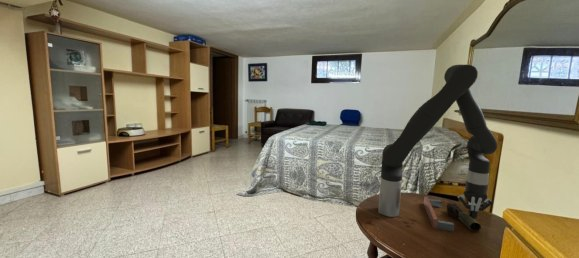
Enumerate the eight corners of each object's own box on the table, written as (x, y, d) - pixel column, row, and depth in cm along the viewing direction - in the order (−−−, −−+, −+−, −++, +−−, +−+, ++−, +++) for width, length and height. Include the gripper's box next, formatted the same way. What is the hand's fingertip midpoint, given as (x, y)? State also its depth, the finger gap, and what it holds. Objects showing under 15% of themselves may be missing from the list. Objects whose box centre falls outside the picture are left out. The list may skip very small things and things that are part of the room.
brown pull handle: (432, 227, 101) (433, 219, 101) (423, 203, 123) (424, 196, 123) (453, 231, 99) (454, 222, 98) (440, 206, 121) (441, 198, 120)
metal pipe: (481, 232, 99) (482, 219, 98) (464, 231, 99) (465, 219, 98) (454, 211, 116) (455, 200, 115) (440, 210, 117) (441, 200, 116)
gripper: (461, 182, 102) (457, 219, 105) (499, 186, 97) (494, 225, 100) (456, 176, 109) (452, 211, 112) (492, 180, 104) (487, 216, 107)
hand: (472, 217), depth 106 cm, fingers closed
